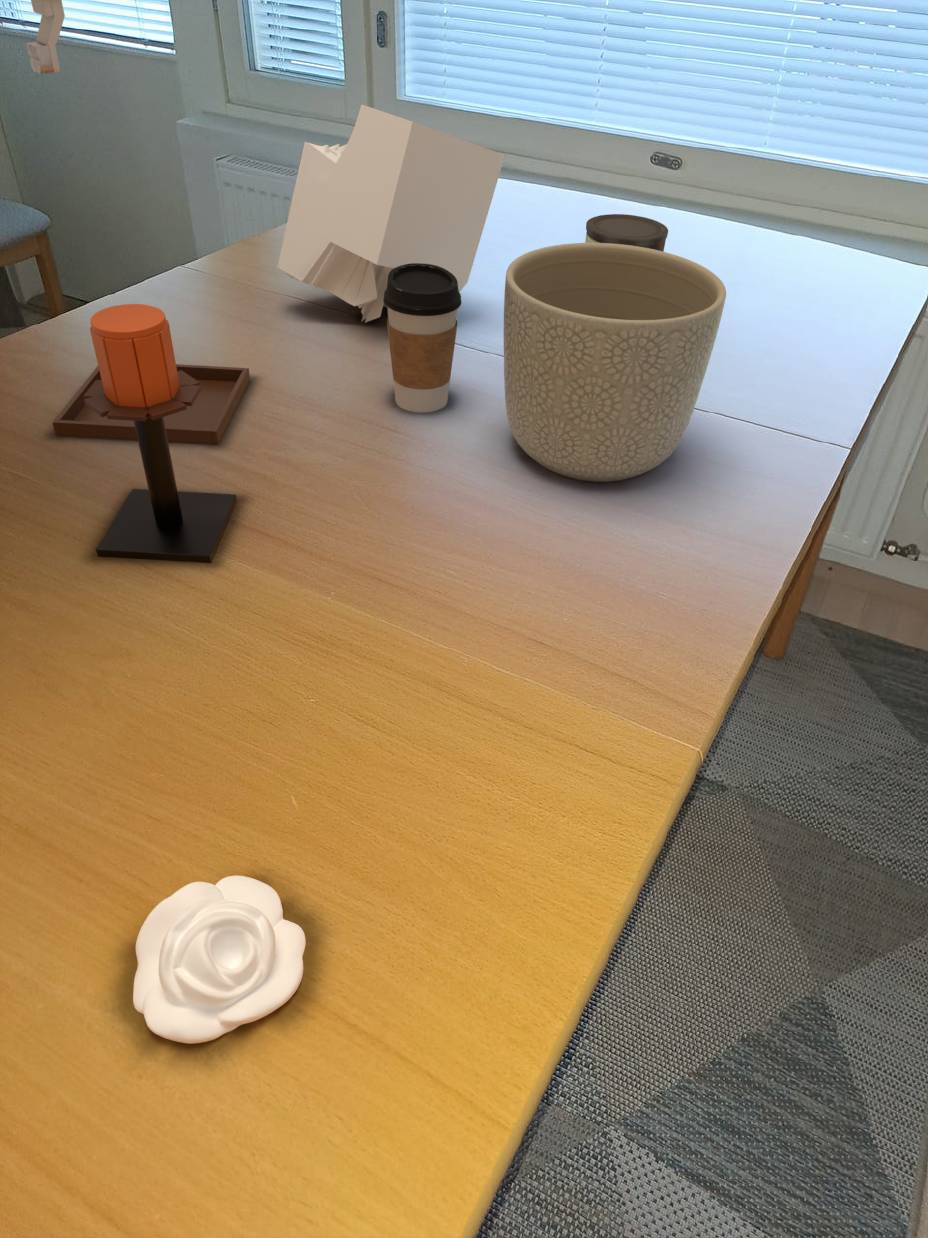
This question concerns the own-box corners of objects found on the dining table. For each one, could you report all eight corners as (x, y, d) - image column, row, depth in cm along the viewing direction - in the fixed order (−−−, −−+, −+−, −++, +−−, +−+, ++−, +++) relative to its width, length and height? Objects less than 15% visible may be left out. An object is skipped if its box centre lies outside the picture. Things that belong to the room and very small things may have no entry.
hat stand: (99, 563, 81) (40, 347, 68) (135, 501, 88) (88, 297, 76) (212, 569, 81) (174, 355, 68) (238, 507, 88) (209, 303, 75)
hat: (71, 417, 72) (49, 337, 68) (108, 368, 79) (91, 293, 75) (181, 423, 72) (167, 343, 68) (210, 374, 79) (198, 299, 75)
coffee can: (665, 338, 123) (685, 230, 114) (609, 355, 118) (626, 244, 109) (612, 313, 130) (628, 208, 120) (557, 328, 125) (569, 220, 116)
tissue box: (267, 289, 124) (308, 86, 113) (358, 303, 135) (403, 120, 125) (356, 340, 113) (411, 121, 102) (447, 351, 124) (505, 155, 113)
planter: (454, 443, 99) (461, 267, 87) (587, 392, 110) (610, 229, 98) (592, 531, 88) (622, 341, 75) (726, 465, 98) (772, 289, 86)
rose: (165, 835, 54) (324, 863, 53) (178, 879, 57) (329, 906, 56) (82, 995, 46) (266, 1032, 45) (101, 1036, 49) (274, 1071, 48)
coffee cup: (442, 385, 110) (446, 258, 100) (468, 417, 104) (474, 286, 94) (375, 394, 108) (372, 265, 98) (398, 428, 102) (397, 294, 92)
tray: (57, 441, 96) (51, 422, 95) (106, 378, 108) (102, 359, 107) (219, 450, 96) (216, 431, 95) (251, 386, 108) (248, 367, 106)
